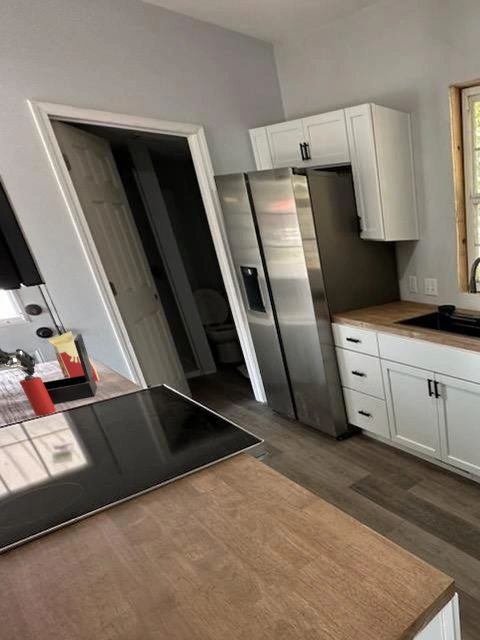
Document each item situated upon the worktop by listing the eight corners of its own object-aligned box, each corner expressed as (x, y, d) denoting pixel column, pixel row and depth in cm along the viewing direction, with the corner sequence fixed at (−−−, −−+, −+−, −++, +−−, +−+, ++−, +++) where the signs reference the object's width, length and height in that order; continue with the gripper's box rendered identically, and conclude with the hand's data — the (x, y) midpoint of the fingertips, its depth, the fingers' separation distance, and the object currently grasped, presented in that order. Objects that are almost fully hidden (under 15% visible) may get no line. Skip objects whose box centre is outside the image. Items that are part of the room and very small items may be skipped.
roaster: (38, 410, 134) (30, 393, 131) (45, 398, 143) (37, 383, 141) (95, 398, 142) (88, 382, 140) (98, 388, 151) (91, 373, 149)
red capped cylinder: (35, 419, 126) (15, 378, 122) (38, 415, 130) (18, 375, 125) (56, 415, 129) (37, 375, 124) (58, 410, 132) (39, 372, 128)
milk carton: (95, 377, 163) (75, 328, 156) (102, 382, 158) (81, 331, 151) (63, 384, 156) (40, 333, 149) (69, 389, 151) (45, 336, 144)
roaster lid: (73, 340, 135) (77, 340, 135) (77, 334, 145) (81, 333, 145) (86, 381, 139) (90, 381, 140) (89, 372, 149) (92, 372, 150)
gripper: (8, 328, 108) (45, 360, 121) (-75, 337, 101) (-27, 369, 114) (8, 352, 105) (45, 381, 119) (-77, 363, 99) (-27, 392, 112)
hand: (10, 375), depth 116 cm, fingers open, 8 cm apart
